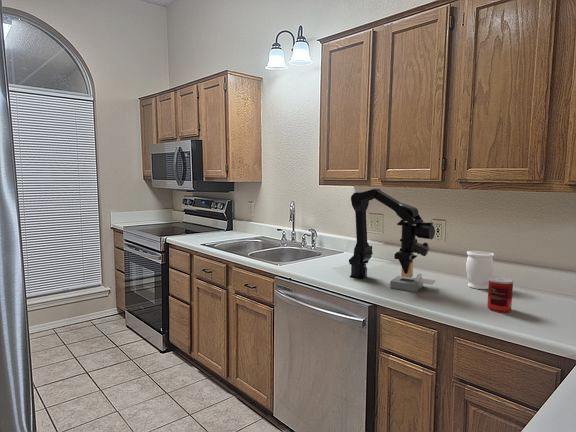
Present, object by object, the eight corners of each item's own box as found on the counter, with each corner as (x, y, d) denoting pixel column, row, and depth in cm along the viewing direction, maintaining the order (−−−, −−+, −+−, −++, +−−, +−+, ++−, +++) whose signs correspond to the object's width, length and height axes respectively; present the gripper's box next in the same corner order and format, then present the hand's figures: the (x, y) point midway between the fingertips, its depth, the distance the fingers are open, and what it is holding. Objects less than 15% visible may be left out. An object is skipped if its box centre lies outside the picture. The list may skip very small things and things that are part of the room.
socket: (390, 288, 171) (390, 281, 171) (397, 282, 180) (398, 275, 180) (416, 292, 165) (416, 284, 165) (423, 285, 174) (423, 279, 174)
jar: (459, 284, 176) (461, 251, 175) (477, 282, 180) (479, 249, 179) (479, 291, 167) (480, 255, 165) (497, 289, 170) (499, 254, 169)
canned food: (503, 305, 149) (505, 276, 147) (516, 313, 141) (518, 282, 139) (482, 305, 148) (484, 276, 147) (494, 313, 140) (496, 282, 139)
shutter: (416, 282, 168) (416, 276, 167) (419, 279, 172) (419, 273, 172) (432, 284, 164) (432, 278, 164) (435, 281, 169) (435, 275, 169)
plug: (401, 276, 172) (401, 259, 171) (403, 274, 174) (403, 257, 174) (410, 277, 170) (411, 260, 169) (412, 276, 172) (413, 258, 172)
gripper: (422, 241, 158) (420, 280, 160) (433, 235, 174) (431, 270, 176) (394, 238, 164) (393, 276, 166) (407, 233, 180) (405, 267, 182)
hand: (407, 272), depth 172 cm, fingers closed on plug, 3 cm apart
